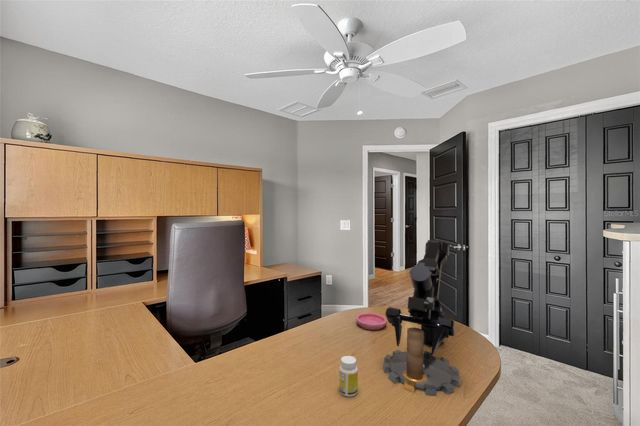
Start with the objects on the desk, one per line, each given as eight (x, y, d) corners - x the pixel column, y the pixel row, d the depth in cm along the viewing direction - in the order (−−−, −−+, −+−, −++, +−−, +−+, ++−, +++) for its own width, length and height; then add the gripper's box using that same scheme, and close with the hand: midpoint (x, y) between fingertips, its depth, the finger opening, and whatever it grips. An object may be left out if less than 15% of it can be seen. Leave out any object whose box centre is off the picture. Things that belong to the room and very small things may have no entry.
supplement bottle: (359, 388, 76) (359, 356, 76) (355, 399, 72) (355, 365, 72) (341, 384, 78) (342, 353, 78) (337, 394, 73) (337, 362, 73)
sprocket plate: (420, 348, 98) (420, 342, 98) (477, 382, 79) (477, 374, 79) (369, 362, 89) (369, 354, 89) (419, 404, 70) (420, 395, 70)
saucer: (384, 320, 123) (384, 313, 123) (388, 333, 111) (388, 325, 111) (355, 319, 125) (356, 311, 125) (356, 331, 112) (356, 323, 112)
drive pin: (407, 369, 82) (407, 326, 82) (423, 372, 81) (424, 329, 81) (405, 377, 78) (406, 332, 78) (422, 381, 77) (423, 335, 77)
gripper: (387, 280, 88) (375, 329, 78) (454, 289, 79) (449, 346, 69) (394, 299, 95) (383, 346, 85) (456, 309, 86) (452, 363, 76)
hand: (414, 349), depth 79 cm, fingers open, 9 cm apart
